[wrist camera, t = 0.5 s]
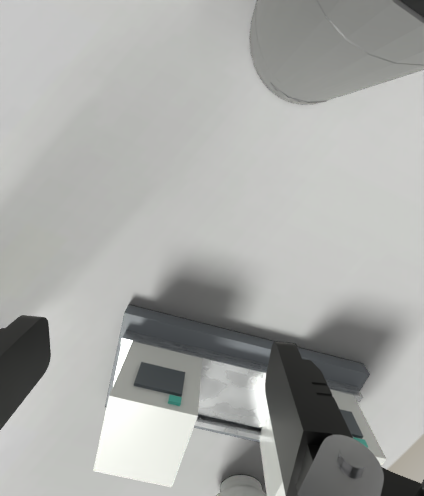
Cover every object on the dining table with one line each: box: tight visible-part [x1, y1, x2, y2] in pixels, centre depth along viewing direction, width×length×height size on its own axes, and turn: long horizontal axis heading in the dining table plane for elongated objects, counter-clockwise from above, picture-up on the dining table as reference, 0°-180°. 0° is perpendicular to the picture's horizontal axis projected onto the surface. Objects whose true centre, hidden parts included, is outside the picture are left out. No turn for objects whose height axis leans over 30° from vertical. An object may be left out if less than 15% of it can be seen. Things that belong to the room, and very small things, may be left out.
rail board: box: [105, 305, 370, 442], centre depth 33 cm, size 26×13×2 cm, turn 74°
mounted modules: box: [93, 341, 386, 496], centre depth 28 cm, size 23×9×7 cm, turn 74°
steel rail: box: [113, 330, 362, 440], centre depth 32 cm, size 25×9×1 cm, turn 74°
